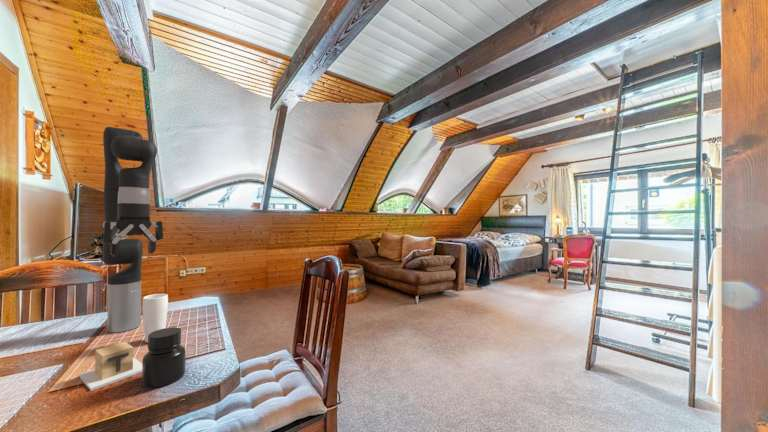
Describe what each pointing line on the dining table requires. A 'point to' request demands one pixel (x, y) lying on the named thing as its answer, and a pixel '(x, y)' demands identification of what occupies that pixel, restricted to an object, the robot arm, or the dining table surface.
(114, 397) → the dining table surface
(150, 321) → the white cup
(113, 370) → the lettered block
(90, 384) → the white mat
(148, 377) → the ink bottle
